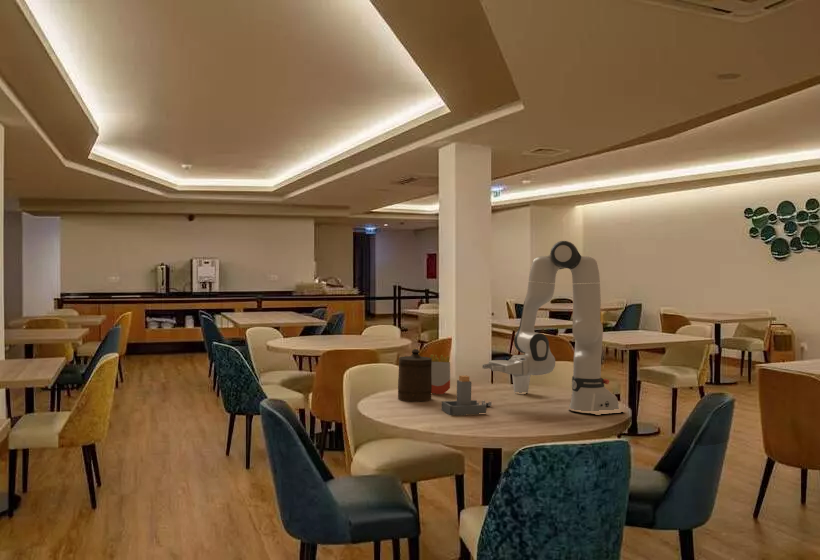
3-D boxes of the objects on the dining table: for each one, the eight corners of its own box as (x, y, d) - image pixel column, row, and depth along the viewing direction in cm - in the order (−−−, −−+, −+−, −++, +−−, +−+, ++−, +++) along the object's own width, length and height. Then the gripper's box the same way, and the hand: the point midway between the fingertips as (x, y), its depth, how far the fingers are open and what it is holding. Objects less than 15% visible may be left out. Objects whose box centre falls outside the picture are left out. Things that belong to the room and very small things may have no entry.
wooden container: (417, 394, 316) (418, 346, 316) (438, 400, 304) (439, 350, 304) (391, 397, 307) (392, 348, 307) (411, 403, 295) (412, 351, 295)
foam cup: (507, 392, 328) (507, 364, 328) (523, 391, 332) (524, 364, 332) (518, 395, 319) (518, 367, 319) (534, 394, 323) (535, 366, 323)
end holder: (475, 408, 286) (475, 400, 285) (486, 414, 275) (486, 405, 275) (441, 410, 281) (441, 401, 281) (450, 415, 271) (450, 406, 271)
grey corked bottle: (466, 409, 281) (467, 375, 281) (470, 411, 277) (471, 376, 276) (456, 409, 280) (457, 375, 280) (460, 412, 275) (461, 377, 275)
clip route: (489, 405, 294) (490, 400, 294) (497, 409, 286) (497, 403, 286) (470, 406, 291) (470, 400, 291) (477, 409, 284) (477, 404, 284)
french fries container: (427, 391, 325) (427, 353, 324) (450, 392, 323) (450, 354, 323) (425, 393, 320) (426, 354, 320) (448, 394, 318) (449, 355, 318)
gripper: (507, 356, 299) (477, 357, 295) (528, 360, 279) (496, 362, 275) (507, 370, 298) (478, 372, 295) (528, 376, 279) (497, 378, 275)
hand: (487, 367), depth 285 cm, fingers open, 8 cm apart
